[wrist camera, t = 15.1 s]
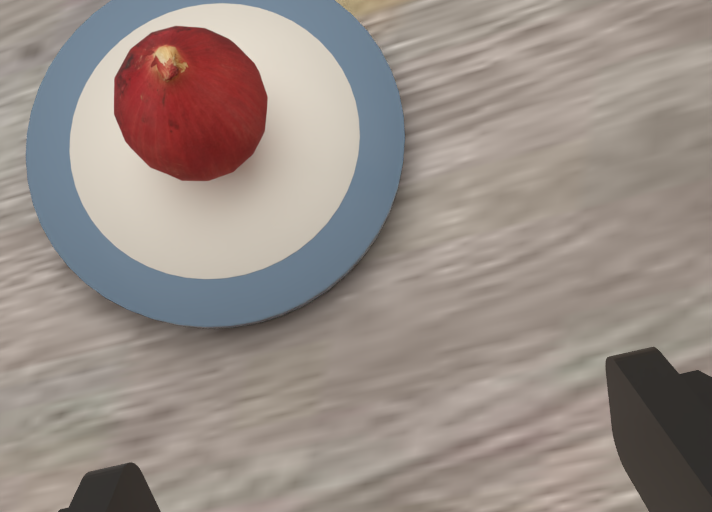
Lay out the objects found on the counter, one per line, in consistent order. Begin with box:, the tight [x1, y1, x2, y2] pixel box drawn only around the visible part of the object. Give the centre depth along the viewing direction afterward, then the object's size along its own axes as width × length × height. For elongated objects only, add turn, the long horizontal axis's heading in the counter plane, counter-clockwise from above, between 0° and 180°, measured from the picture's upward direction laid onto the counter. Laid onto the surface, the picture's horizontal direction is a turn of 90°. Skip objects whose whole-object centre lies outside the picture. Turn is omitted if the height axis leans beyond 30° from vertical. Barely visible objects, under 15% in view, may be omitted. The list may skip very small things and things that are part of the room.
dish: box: [26, 0, 405, 329], centre depth 31 cm, size 17×17×2 cm
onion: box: [114, 26, 268, 181], centre depth 26 cm, size 6×6×8 cm
